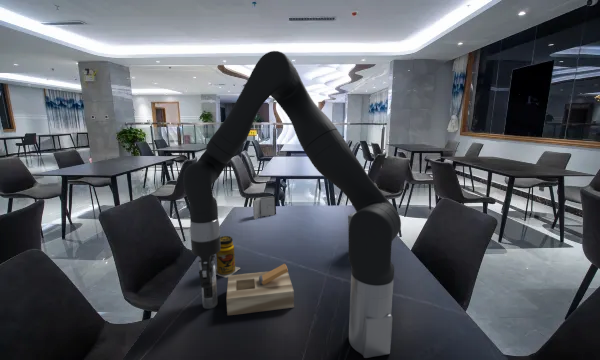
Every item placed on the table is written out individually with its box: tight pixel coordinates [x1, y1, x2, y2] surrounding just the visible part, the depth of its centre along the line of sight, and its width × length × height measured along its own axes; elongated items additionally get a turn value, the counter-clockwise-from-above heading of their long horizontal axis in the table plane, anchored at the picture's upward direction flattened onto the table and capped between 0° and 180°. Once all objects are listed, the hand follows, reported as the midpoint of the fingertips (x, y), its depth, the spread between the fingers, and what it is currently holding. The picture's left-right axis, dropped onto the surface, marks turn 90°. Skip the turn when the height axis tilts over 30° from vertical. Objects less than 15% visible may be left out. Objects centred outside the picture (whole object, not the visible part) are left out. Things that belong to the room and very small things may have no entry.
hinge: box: [252, 195, 277, 220], centre depth 158 cm, size 14×5×10 cm, turn 124°
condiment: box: [215, 235, 241, 279], centre depth 99 cm, size 7×8×12 cm
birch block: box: [226, 270, 295, 317], centre depth 84 cm, size 12×18×5 cm, turn 101°
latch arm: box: [259, 263, 289, 285], centre depth 84 cm, size 9×3×1 cm, turn 101°
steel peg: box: [201, 263, 218, 310], centre depth 81 cm, size 4×4×12 cm
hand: (209, 292), depth 81 cm, fingers closed on steel peg, 4 cm apart
